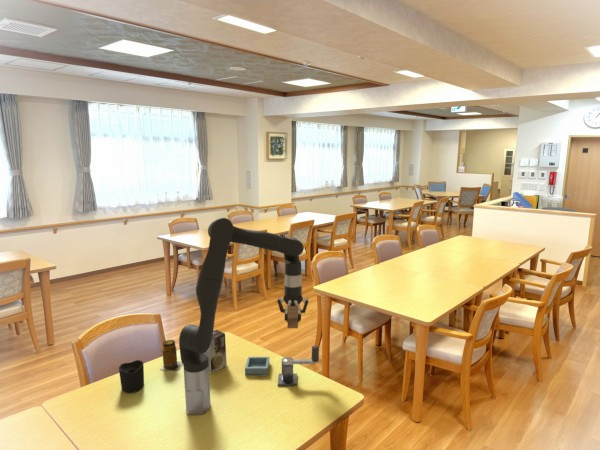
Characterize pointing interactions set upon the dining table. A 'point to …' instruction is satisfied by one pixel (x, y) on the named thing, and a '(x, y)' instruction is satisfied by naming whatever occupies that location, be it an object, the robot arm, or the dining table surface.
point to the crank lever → (290, 361)
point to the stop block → (292, 316)
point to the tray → (257, 366)
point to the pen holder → (132, 376)
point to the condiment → (170, 356)
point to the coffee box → (217, 351)
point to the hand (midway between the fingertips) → (292, 321)
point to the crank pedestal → (287, 377)
